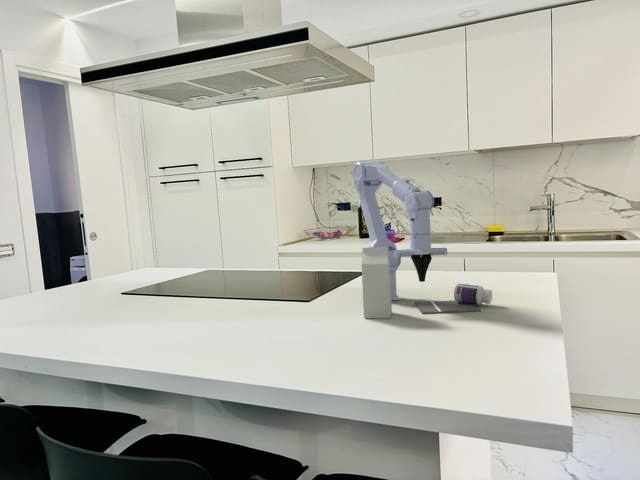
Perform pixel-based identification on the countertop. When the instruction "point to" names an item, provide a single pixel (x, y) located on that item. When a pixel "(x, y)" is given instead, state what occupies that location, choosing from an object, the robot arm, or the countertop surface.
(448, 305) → the mat
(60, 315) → the countertop surface
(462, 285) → the pill bottle
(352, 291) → the countertop surface
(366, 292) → the milk carton
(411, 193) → the robot arm
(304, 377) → the countertop surface
